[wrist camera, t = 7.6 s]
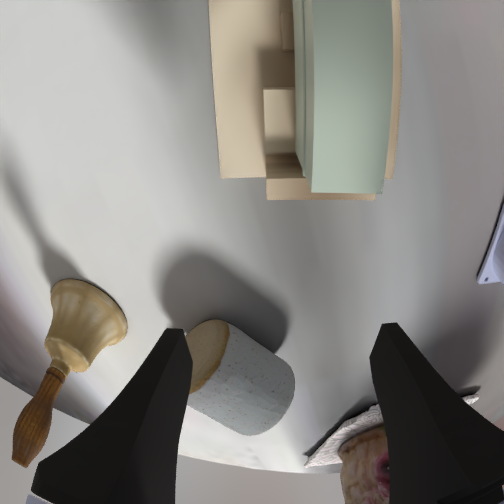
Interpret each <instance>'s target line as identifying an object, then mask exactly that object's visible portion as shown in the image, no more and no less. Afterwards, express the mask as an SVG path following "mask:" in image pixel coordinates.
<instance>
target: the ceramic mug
mask: <svg viewBox="0 0 504 504" xmlns="http://www.w3.org/2000/svg"><path fill="white" fill-rule="evenodd" d="M185 338H186V341H187V344H188V348H189V351H190V354H191V357H192V360H193V369H192V379H191V387H190V392H189V396H188V401H187V405H188V406H190V407H192V408H194V409H195V410H197V411H199V412H201V413H203V414H205V415H207V416H209V417H210V418H212V419H214V420H215V421H217V422H219V423H221V424H223V425H224V426H226V427H228V428H230V429H232V430H234V431H236V432H238V433H240V434H243V435H249V436H250V435H257V434H261V433H263V432H265V431H267V430H269V429H270V428H272V427H273V426H274V425H276V424H277V423H278V422H279V421H280V420H281V418H282V417H283V416H284V414H285V413H286V411H287V410H288V408H289V406H290V404H291V402H292V399H293V396H294V390H295V378H294V374H293V371H292V369H291V367H290V366H289V365H288V364H287V362H285V361H284V360H283V359H281V358H279V357H278V356H276V355H275V354H273V353H272V352H271V351H269V350H268V349H266V348H265V347H263V346H262V345H260V344H259V343H257V342H256V341H254V340H253V339H252V338H250V337H249V336H248V335H246V334H245V333H244V332H242V331H241V330H240V329H238V328H237V327H235V326H233V325H231V324H229V323H227V322H225V321H222V320H219V319H215V320H208V321H206V322H203V323H201V324H199V325H198V326H196V327H195V328H194V329H193V330H191V331H190V332H189V333H188V334H187V335H186V336H185Z"/></svg>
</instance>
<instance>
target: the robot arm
mask: <svg viewBox="0 0 504 504" xmlns="http://www.w3.org/2000/svg"><path fill="white" fill-rule="evenodd" d="M477 281H478V283H479V284H485V283H494V282H502V283H503V285H504V204H503V207H502V211H501V214H500V217H499V221H498V224H497V227H496V230H495V233H494V236H493V239H492V242H491V244H490V247H489V250H488V252H487V255H486V258H485V260H484V263H483V265H482V268H481V270H480V273H479V275H478V277H477ZM369 358H370V365H371V372H372V379H373V384H374V387H375V391H376V395H377V399H378V403H379V407H380V411H381V414H382V418H383V423H384V427H385V431H386V437H387V445H388V456H389V473H390V496H389V504H504V489H503V488H502V485H504V431H502V430H501V429H499V428H498V427H496V426H495V425H493V424H492V423H491V422H489V421H488V420H487V419H485V418H484V417H483V416H482V415H480V414H479V413H478V412H477V411H476V410H474V409H473V408H472V407H471V406H470V405H469V404H467V403H466V402H465V401H464V400H463V399H462V398H461V397H460V396H459V395H458V394H457V393H456V392H455V391H454V390H453V389H452V388H451V387H450V386H449V385H448V384H447V383H446V382H445V380H444V379H443V378H442V377H441V376H440V375H439V374H438V373H437V371H436V370H435V369H434V368H433V367H432V365H431V364H430V363H429V362H428V361H427V359H426V358H425V357H424V356H423V355H422V353H421V352H420V351H419V350H418V348H417V347H416V346H415V345H414V343H413V342H412V341H411V339H410V338H409V337H408V336H407V334H406V333H405V332H404V331H403V329H402V328H401V327H400V326H399V325H398V323H397V322H396V323H385V324H382V325H381V328H380V331H379V334H378V336H377V339H376V342H375V344H374V347H373V349H372V352H371V355H370V357H369ZM192 369H193V360H192V357H191V354H190V351H189V348H188V344H187V341H186V338H185V335H184V331H183V329H171V328H167V329H166V330H165V331H164V332H163V334H162V335H161V337H160V338H159V340H158V342H157V343H156V345H155V346H154V348H153V349H152V351H151V352H150V354H149V355H148V356H147V358H146V359H145V361H144V362H143V364H142V365H141V366H140V368H139V369H138V371H137V372H136V373H135V375H134V376H133V377H132V379H131V380H130V381H129V383H128V384H127V385H126V386H125V388H124V389H123V390H122V391H121V393H120V394H119V395H118V396H117V397H116V399H115V400H114V401H113V402H112V403H111V404H110V405H109V406H108V407H107V408H106V410H105V411H104V412H103V413H102V414H101V415H100V416H99V417H98V418H97V419H96V420H95V421H94V422H92V423H91V424H90V426H88V427H87V428H86V429H85V430H84V431H83V432H82V433H80V434H79V435H78V436H77V437H75V438H74V439H73V440H71V441H70V442H69V443H68V444H66V445H65V446H64V447H62V448H61V449H59V450H58V451H56V452H55V453H53V454H52V455H50V456H49V457H47V458H45V459H44V460H42V461H40V462H39V464H38V466H37V469H36V473H35V476H34V480H33V483H32V487H31V491H32V492H33V493H34V494H36V495H38V496H39V497H41V498H43V499H45V500H47V501H49V502H51V503H53V504H175V483H176V482H175V481H176V464H177V454H178V444H179V438H180V433H181V428H182V423H183V419H184V414H185V410H186V406H187V401H188V396H189V392H190V387H191V379H192ZM26 504H50V503H47V502H45V501H43V500H41V499H39V498H37V497H35V496H32V495H30V494H29V495H28V497H27V501H26Z"/></svg>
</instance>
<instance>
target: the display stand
mask: <svg viewBox="0 0 504 504" xmlns="http://www.w3.org/2000/svg"><path fill="white" fill-rule="evenodd" d="M391 2H392V19H393V89H392V108H391V122H390V134H389V144H388V153H387V162H386V170H385V178H384V179H393V173H394V165H395V157H396V148H397V138H398V127H399V114H400V97H401V60H402V55H401V19H400V3H399V0H391ZM209 18H210V37H211V53H212V69H213V84H214V98H215V111H216V124H217V137H218V149H219V161H220V172H221V179H222V178H247V177H266V187H267V200H375V197H376V194H362V193H311V190H310V188H309V185H308V182H307V180H306V177H305V176H303V174H302V167H301V164H300V162H299V159H298V157H297V154H296V152H295V123H296V116H295V47H294V19H293V0H209Z"/></svg>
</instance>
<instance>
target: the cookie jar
mask: <svg viewBox="0 0 504 504" xmlns="http://www.w3.org/2000/svg"><path fill="white" fill-rule="evenodd" d="M479 398H480V396H479V395H478V394H475V395H469V396H466V397H462V399H463V400H464V401H465V402H466V403H467V404H471V403H473V402H475V401H476V400H478V399H479ZM335 463H343V466H342V469H341V473H340V477H341V484H342V490H343V495H344V499H345V504H389V496H390V473H389V456H388V445H387V437H386V431H385V427H384V423H383V418H382V414H381V411H380V407H379V404H376V405H373V406H371V407H370V409H369V411H368V412H367V411H365V412H364V413H362V414H361V415H359V416H357V417H355V418H352V419H349V420H347V421H344V422H343V424H342V425H341V426H340V427H339V428H338V429H337V431H335V432H334V433H333V434H332V435H331V436H330V437H329V438H328V439H327V440H326V441H325V442H324V443H323V444H322V445H321V446H320V447H319V448H318V449H317V450H316V451H315V453H314V454H313V455H312V456H310V457H308V458H307V461H306V463H305V464H304V468H306V467H314V466H321V465H329V464H335Z"/></svg>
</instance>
